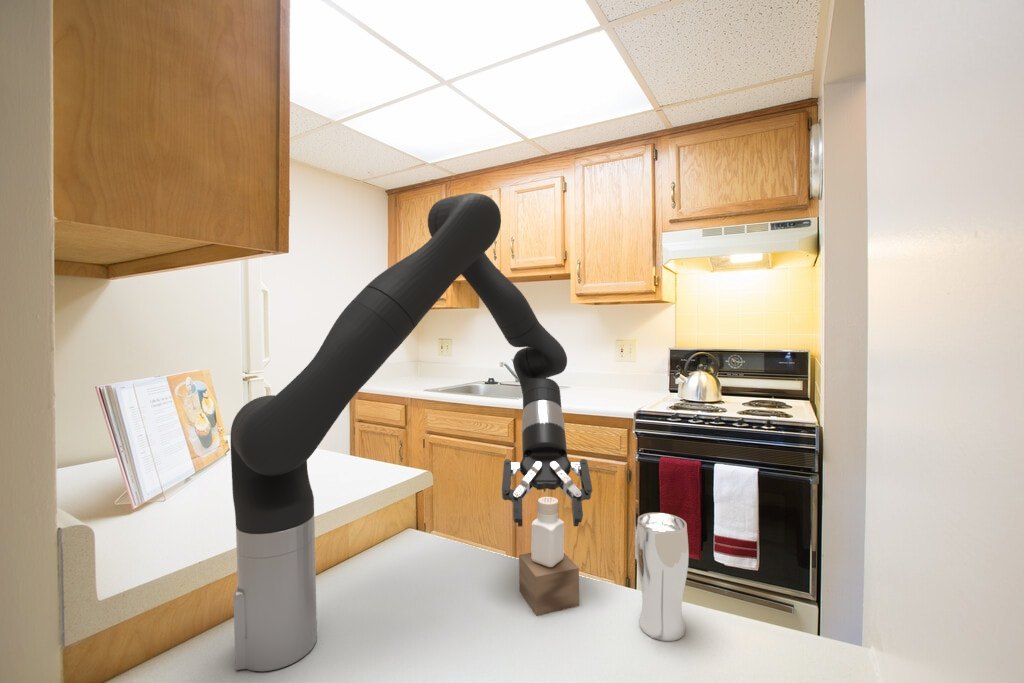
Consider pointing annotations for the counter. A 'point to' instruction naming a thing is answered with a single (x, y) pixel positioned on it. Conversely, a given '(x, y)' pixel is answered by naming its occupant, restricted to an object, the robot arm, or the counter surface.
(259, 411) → the robot arm
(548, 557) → the pepper shaker
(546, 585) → the walnut block
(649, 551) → the beer glass
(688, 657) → the counter surface
